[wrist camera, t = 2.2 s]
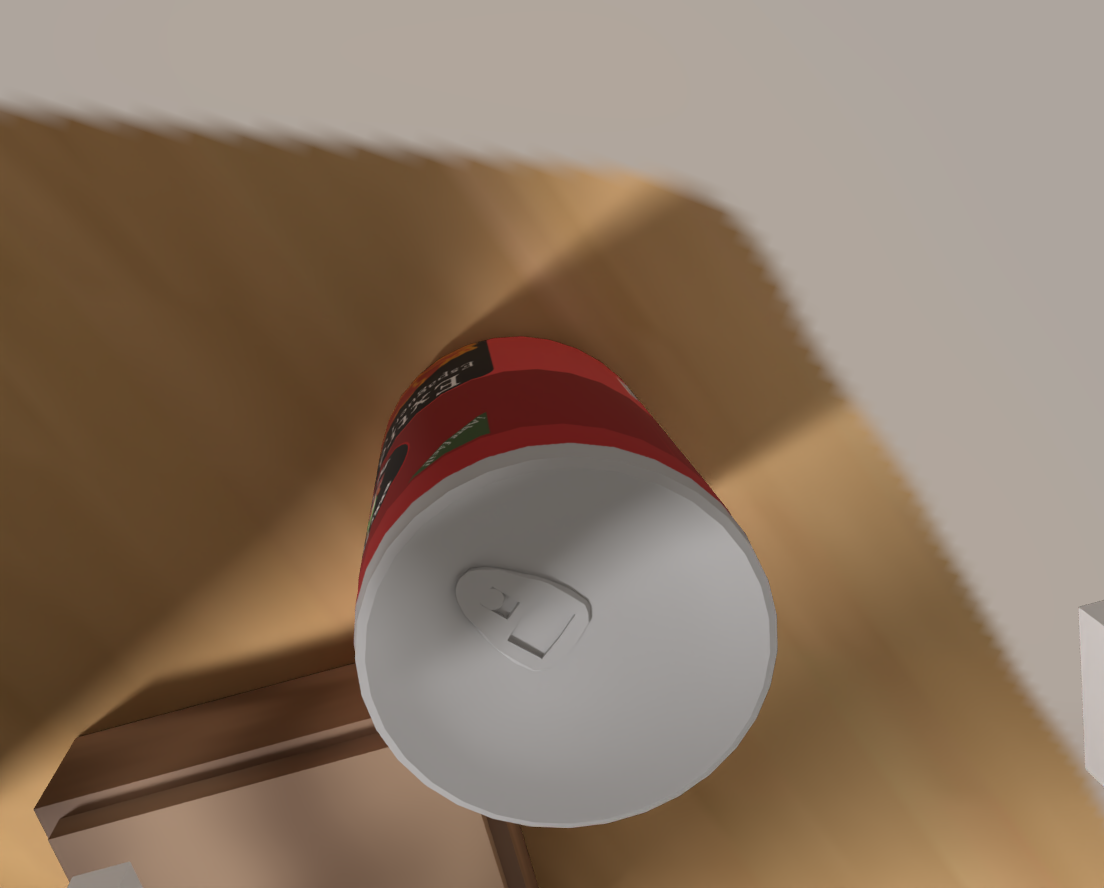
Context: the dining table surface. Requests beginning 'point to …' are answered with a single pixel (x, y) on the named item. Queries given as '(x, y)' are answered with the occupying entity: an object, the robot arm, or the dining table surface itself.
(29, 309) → the dining table surface
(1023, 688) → the dining table surface
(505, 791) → the canned food
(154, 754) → the plinth
